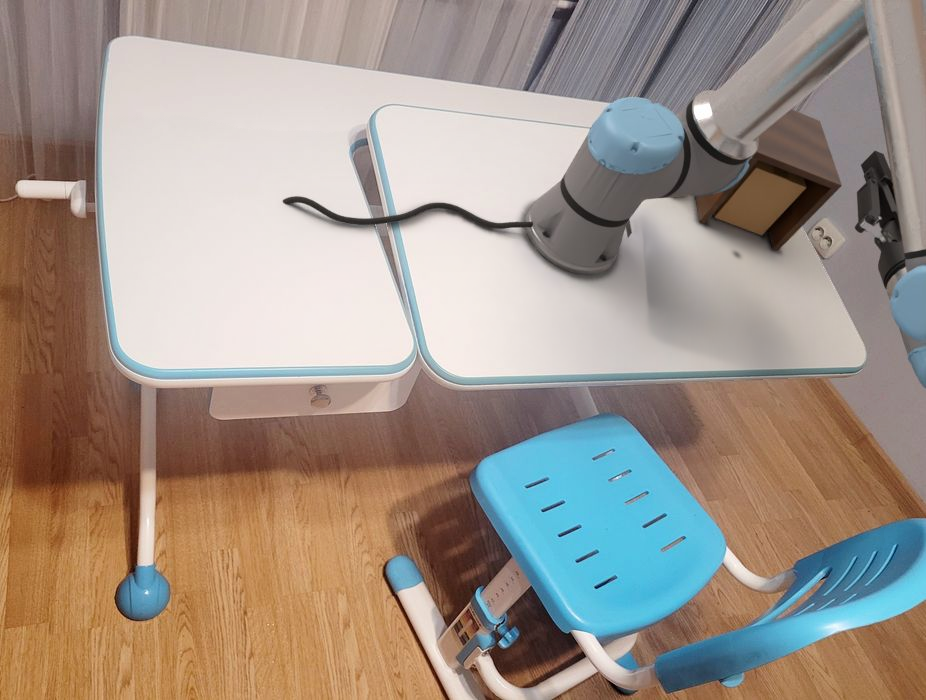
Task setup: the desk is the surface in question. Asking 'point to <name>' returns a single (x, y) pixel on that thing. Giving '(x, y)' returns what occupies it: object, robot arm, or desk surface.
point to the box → (760, 197)
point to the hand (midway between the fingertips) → (872, 159)
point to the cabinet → (799, 152)
